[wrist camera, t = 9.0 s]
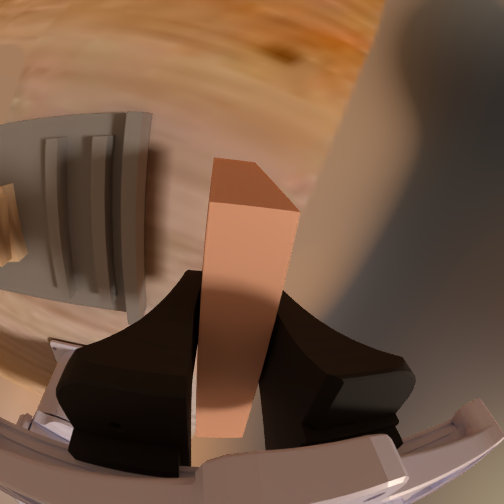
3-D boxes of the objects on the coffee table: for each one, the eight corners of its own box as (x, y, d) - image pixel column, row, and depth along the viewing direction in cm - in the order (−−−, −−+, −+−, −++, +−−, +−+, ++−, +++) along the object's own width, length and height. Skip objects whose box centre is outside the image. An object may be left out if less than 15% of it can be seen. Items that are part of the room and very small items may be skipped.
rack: (146, 306, 22) (140, 325, 20) (-2, 282, 19) (-15, 295, 17) (152, 113, 16) (142, 111, 14) (-19, 129, 13) (-37, 132, 11)
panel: (230, 325, 18) (242, 437, 10) (198, 323, 17) (196, 436, 10) (254, 162, 13) (300, 212, 6) (214, 157, 13) (209, 201, 6)
